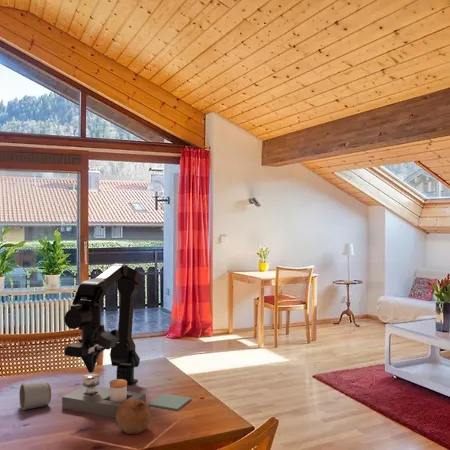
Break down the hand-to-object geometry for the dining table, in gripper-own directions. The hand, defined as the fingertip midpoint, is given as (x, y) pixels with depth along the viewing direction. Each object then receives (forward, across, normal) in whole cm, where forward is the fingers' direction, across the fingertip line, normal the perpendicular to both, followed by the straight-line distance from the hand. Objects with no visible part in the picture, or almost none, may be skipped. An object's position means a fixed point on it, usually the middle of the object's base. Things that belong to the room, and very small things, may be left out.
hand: (91, 372), depth 156 cm
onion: (+11, -11, -22) cm, 27 cm away
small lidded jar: (+10, 0, -10) cm, 14 cm away
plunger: (+8, 0, 0) cm, 8 cm away
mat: (+10, +11, -22) cm, 27 cm away
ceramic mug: (+11, -7, +17) cm, 21 cm away
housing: (+10, 0, -5) cm, 12 cm away
